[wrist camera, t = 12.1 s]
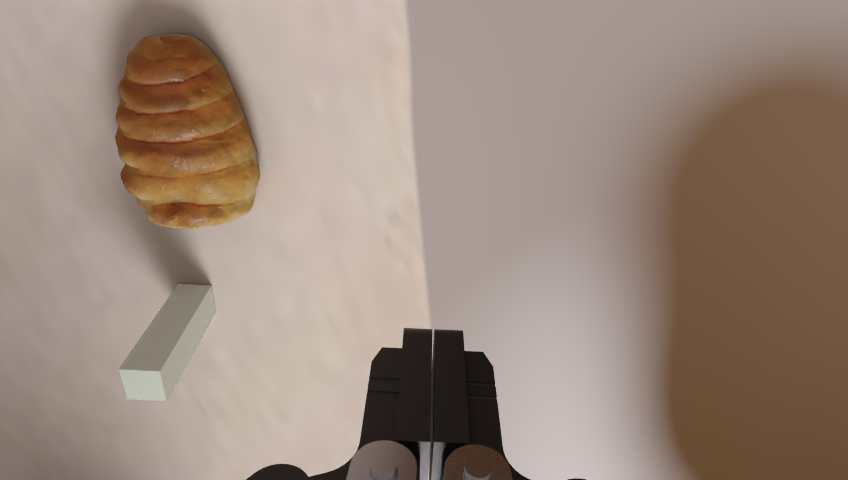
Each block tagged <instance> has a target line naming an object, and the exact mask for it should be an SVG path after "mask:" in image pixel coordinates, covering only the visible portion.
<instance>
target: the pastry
mask: <svg viewBox="0 0 848 480" xmlns="http://www.w3.org/2000/svg"><path fill="white" fill-rule="evenodd" d="M118 90H119V92H120V104H119V106H118V109H117V114H116V121H117V123H118V126H119V128H118V131H117V133H116V136H115V139H116V143H117V147H118V153H119V156H120V158H121V160H122V161H124V162H125V166H124V168H123V169H122V171H121V179H122V181H123V184H124V186H125V188H126V189H127V190H128V191H129V192H130V193H131V194H133V195H135V196H136V197H137V202H138V204H139V206H140V208H141V209H142V210H143V212H144V213H145V214H146V218H147V219H148V220H149V221H150V222H152V223H154V224H156V225H160V226H166V227H172V228H184V229H195V228H200V227H203V226H216V225H220V224H223V223H226V222H229V221H232V220H234V219H236V218H238V217H240V216H242V215H244V214H246V213H248V212H249V211H250V210H251V208H252V206H253V203H254V198H255V194H256V188H257V185H258V182H259V178H260V170H259V164H258V158H257V150H256V147H255V145H254V142H253V140H252V137H251V132H250V129H249V127H248V124H247V120H246V117H245V115H244V113H243V110H242V108H241V105H240V103H239V101H238V99H237V96H236V94H235V91H234V89H233V86H232V84H231V82H230V79H229V77H228V75H227V73H226V70H225V68H224V67H223V65H222V64H221V63H220V62H219V60H218V59H217V58H216V57H215V55H214V54H213V53H212V51H211V50H210V49H209V48H208V47H207V46H206V45H205V44H204V43H202V42H201V41H199V40H198V39H196V38H195V37H192V36H190V35H182V34H167V35H160V36H148V37H145V38H143V39H142V40H141V41H140V42H139V43H138V44H137V45H136V46H135V48H134V49H133V50H132V51H131V52H130V53H129V54H128V56H127V66H126V70H125V76H124V78H123V79H122V81H121V82H120V85H119V87H118Z"/></svg>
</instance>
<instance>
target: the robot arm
mask: <svg viewBox="0 0 848 480" xmlns="http://www.w3.org/2000/svg"><path fill="white" fill-rule="evenodd" d="M496 397H497V396H496V387H495V380H494V371H493V366H492V365H491V363H490V362H489V360H488V359H487V358H486V356H485V354H484V353H483V352H471V351H464V340H463V331H458V330H436V329H435V330H434V344H433V359H432V329H413V328H404V335H403V347H402V348H382V349H381V350H380V351H379V353H378V354H377V355H376V356H375V358H374V359H373V360H372V364H371V370H370V377H369V384H368V392H367V398H366V404H365V411H364V418H363V425H362V431H361V438H360V444H359V447H358V449H357V451H356V453H355V455H354V456H353V457H352V458H351V459H350V460H349V461H348V462H347V463H346V464H344V465H343V466H341V467H340V468H338V469H335V470H333V471H330V472H327V473H323V474H319V475H315V476H311V477H308V476H307V474H306V473H305V472H304V471H303V470H301V469H300V468H298V467H296V466H293V465H289V464H275V465H270V466H268V467H265V468H263V469H261V470H259V471H257V472H256V473H254V474H253V475H252V476H250V477H249V478H248V479H246V480H428V473H429V480H530V479H527V478H526V477H524V476H522V475H521V474H519V473H518V472H517V471H515V469H514V468H513V467H512V466H511V465H510V464H509V462H508V461H507V459H506V457H505V454H504V451H503V446H502V437H501V429H500V421H499V412H498V404H497V399H496ZM429 458H430V466H429ZM568 480H585V479H568Z"/></svg>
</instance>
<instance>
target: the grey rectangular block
mask: <svg viewBox="0 0 848 480" xmlns="http://www.w3.org/2000/svg"><path fill="white" fill-rule="evenodd" d="M215 313H216V310H215V303H214V297H213V291H212V285H196V284H178V285H177V286H176V288H175V289H174V291H173V292H172V294H171V295H170V296H169V298H168V299H167V301H166V302H165V304H164V305H163V307H162V308H161V309H160V311H159V312H158V314H157V315H156V317H155V318H154V319H153V321H152V322H151V324H150V325H149V327H148V328H147V330H146V331H145V332H144V334H143V335H142V337H141V338H140V340H139V341H138V343H137V344H136V345H135V347H134V348H133V350H132V351H131V353H130V354H129V356H128V357H127V358H126V360H125V361H124V363H123V364H122V366H121V367H120V368H119V372H120V375H121V379H122V382H123V386H124V389H125V393H126V397H127V399H133V400H153V401H167V400H168V398H169V396H170V394H171V393H172V391H173V389H174V387H175V385H176V384H177V382H178V380H179V378H180V376H181V374H182V373H183V371H184V369H185V367H186V365H187V364H188V362H189V360H190V358H191V356H192V354H193V353H194V351H195V349H196V347H197V345H198V344H199V342H200V340H201V338H202V336H203V334H204V333H205V331H206V329H207V327H208V325H209V324H210V322H211V320H212V318H213V316H214V315H215Z"/></svg>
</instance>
